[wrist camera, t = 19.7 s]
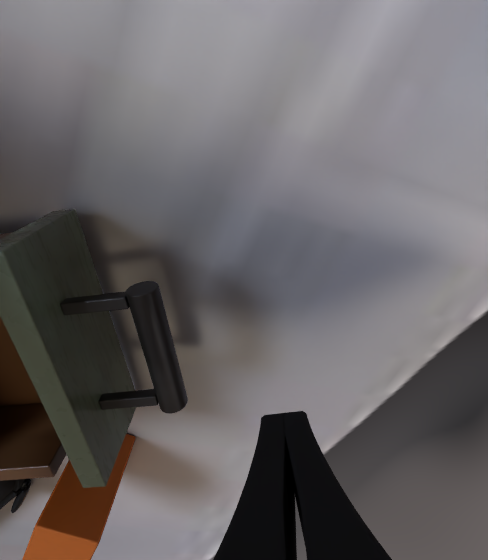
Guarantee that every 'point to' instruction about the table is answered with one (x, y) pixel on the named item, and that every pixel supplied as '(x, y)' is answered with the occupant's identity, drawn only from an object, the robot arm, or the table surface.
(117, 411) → the drawer
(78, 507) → the snack box
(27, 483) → the carrying case
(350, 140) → the table surface
